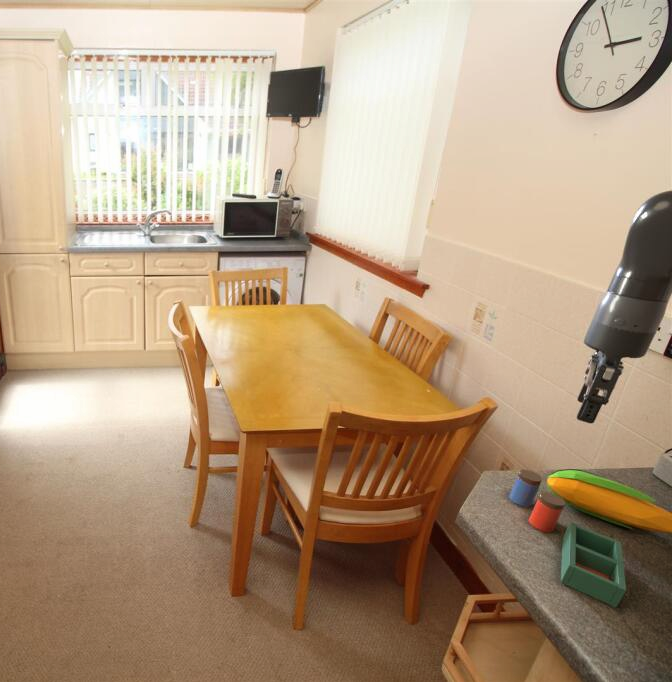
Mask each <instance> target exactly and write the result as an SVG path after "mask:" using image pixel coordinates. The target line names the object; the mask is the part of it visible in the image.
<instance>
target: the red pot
mask: <svg viewBox="0 0 672 682" xmlns="http://www.w3.org/2000/svg"><path fill="white" fill-rule="evenodd" d="M565 506H566V503H565V501H564V500H563V499H562V498H561V497H559V496H557V495H555V494H553V493H552V492H551V491H550V492H549V491H542V492H540V493H539V495H538V498H537V499H536V502H535V504H534V506H533V509H532V511H531V513H530V515H529V518H528V522H529V524H530V525H531V526H532V527H534V528H535V529H536V530H539V531H542V532H545V533H552V532H553V531H554V529H555V528H556V525H557V523H558V521H559V519H560V517H561V515H562V513H563V510H564V508H565Z"/></svg>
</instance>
